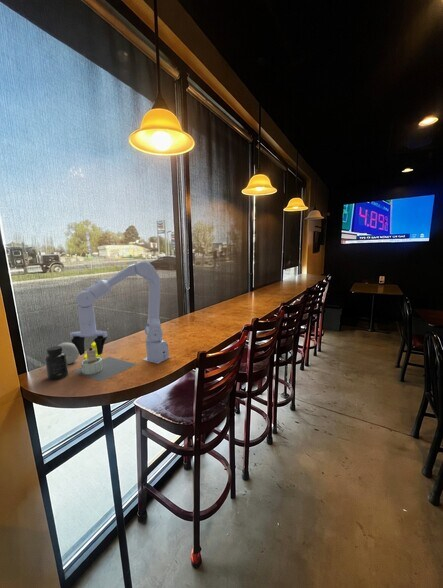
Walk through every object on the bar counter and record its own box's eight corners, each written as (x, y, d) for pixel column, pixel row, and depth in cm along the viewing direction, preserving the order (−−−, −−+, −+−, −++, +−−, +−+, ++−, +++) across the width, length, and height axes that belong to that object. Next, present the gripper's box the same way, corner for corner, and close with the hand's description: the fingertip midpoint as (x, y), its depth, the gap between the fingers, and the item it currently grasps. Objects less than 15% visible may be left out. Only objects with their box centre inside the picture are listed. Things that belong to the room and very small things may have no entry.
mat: (137, 365, 106) (137, 364, 106) (100, 382, 92) (100, 381, 92) (109, 357, 116) (109, 356, 116) (72, 372, 102) (72, 371, 101)
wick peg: (97, 369, 101) (94, 348, 100) (88, 371, 100) (86, 350, 99) (96, 366, 104) (94, 346, 103) (88, 368, 102) (86, 347, 101)
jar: (107, 368, 103) (106, 359, 102) (89, 376, 97) (88, 366, 96) (95, 365, 107) (94, 355, 106) (78, 372, 100) (77, 362, 100)
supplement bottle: (46, 377, 98) (42, 348, 96) (66, 371, 102) (62, 343, 101) (49, 383, 93) (45, 352, 91) (70, 376, 97) (67, 347, 96)
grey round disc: (53, 367, 107) (50, 345, 105) (56, 364, 110) (53, 342, 109) (79, 364, 109) (76, 342, 108) (81, 361, 113) (78, 340, 111)
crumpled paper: (81, 360, 114) (79, 344, 113) (97, 354, 121) (96, 339, 120) (89, 362, 111) (87, 346, 110) (105, 356, 118) (103, 340, 117)
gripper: (110, 318, 102) (113, 350, 104) (76, 319, 103) (80, 350, 105) (100, 323, 95) (104, 357, 97) (64, 323, 96) (69, 357, 98)
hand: (91, 354), depth 101 cm, fingers open, 7 cm apart
